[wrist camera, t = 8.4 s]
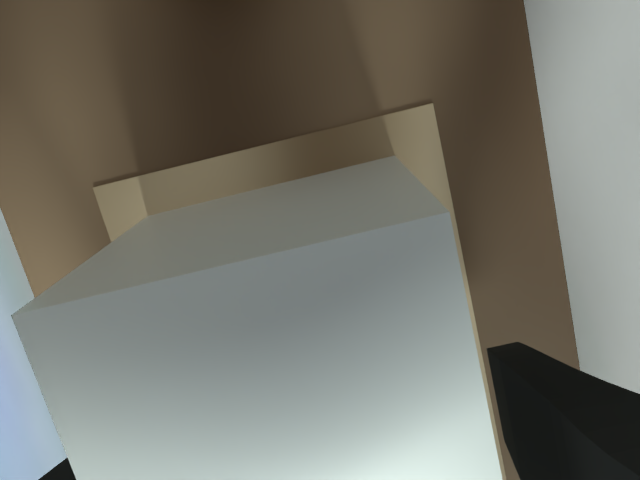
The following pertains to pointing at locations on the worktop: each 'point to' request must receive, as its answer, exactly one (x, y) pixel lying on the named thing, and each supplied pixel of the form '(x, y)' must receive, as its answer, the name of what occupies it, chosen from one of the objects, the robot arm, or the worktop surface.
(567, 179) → the worktop surface
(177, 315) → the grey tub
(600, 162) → the worktop surface
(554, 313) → the walnut board
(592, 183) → the worktop surface
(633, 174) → the worktop surface
